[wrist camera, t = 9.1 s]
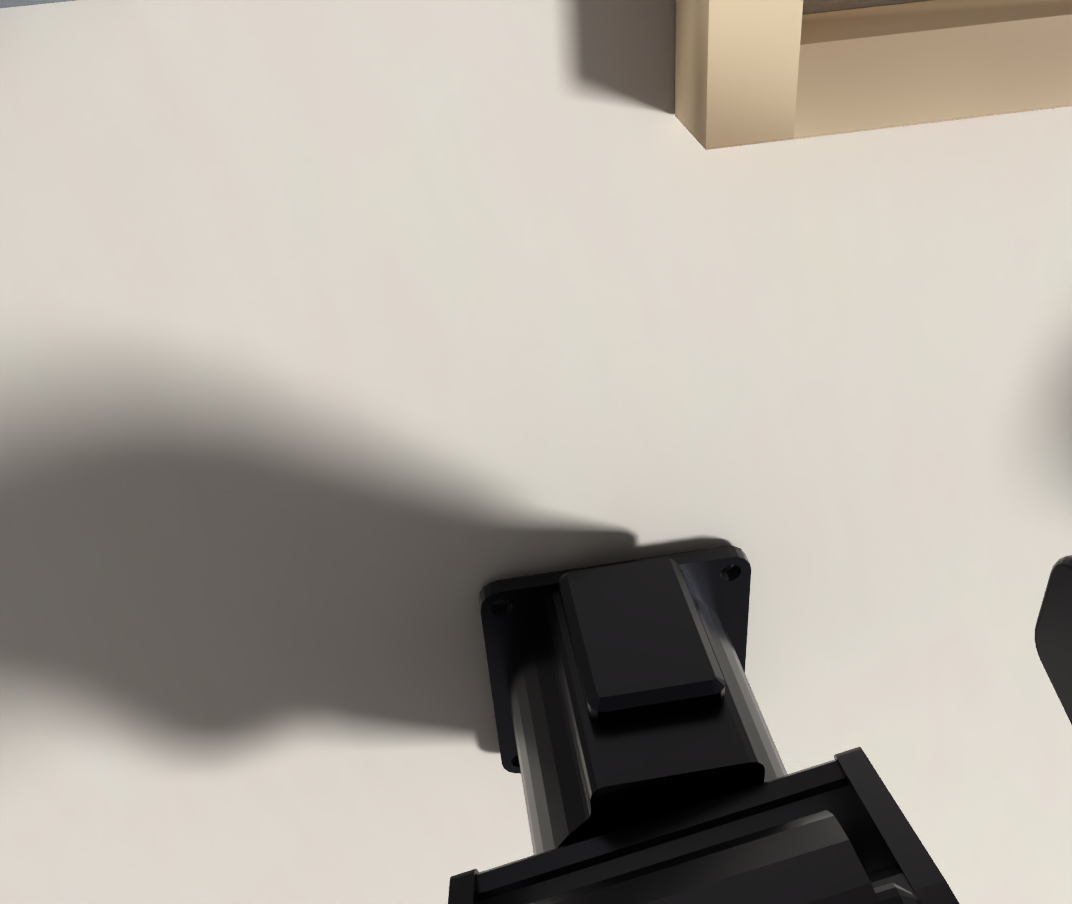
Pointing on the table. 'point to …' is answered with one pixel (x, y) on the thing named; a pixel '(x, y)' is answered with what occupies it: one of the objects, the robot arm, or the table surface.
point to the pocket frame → (863, 65)
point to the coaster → (26, 2)
